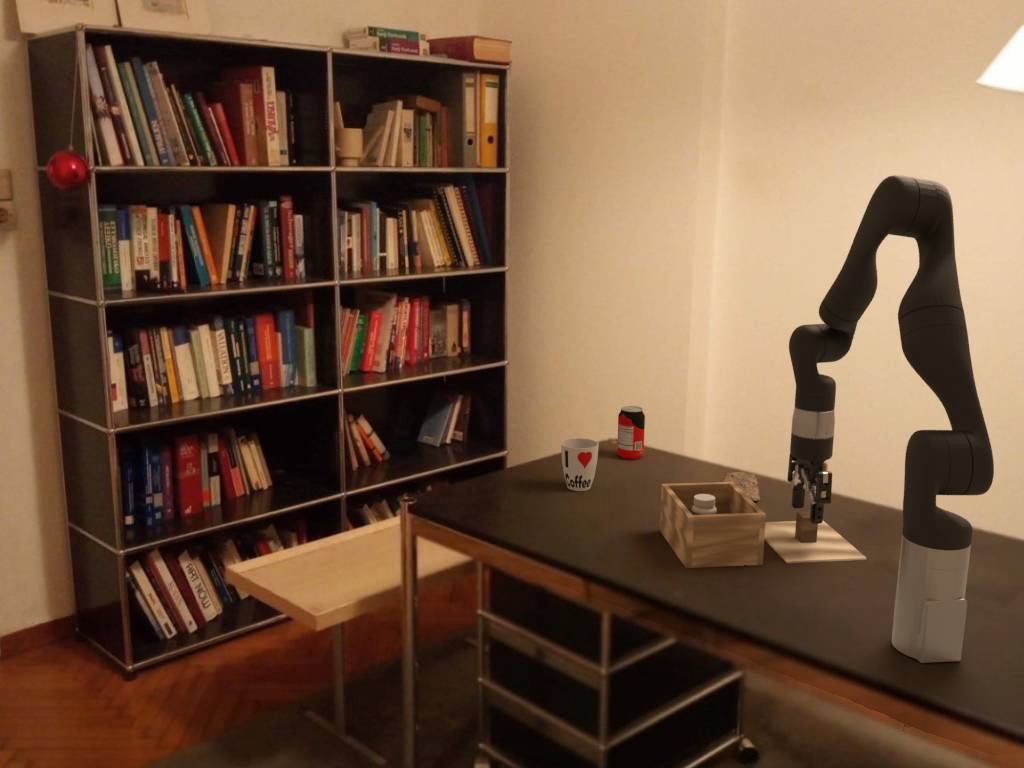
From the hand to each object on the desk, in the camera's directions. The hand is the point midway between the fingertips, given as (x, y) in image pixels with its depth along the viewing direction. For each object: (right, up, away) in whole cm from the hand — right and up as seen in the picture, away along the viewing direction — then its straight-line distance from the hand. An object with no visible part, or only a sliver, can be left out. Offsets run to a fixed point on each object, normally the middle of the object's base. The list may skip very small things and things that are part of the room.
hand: (806, 515), depth 186 cm
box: (-19, -6, -2) cm, 20 cm away
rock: (-6, 0, +27) cm, 28 cm away
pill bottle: (-19, -5, +2) cm, 20 cm away
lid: (0, -6, +1) cm, 6 cm away
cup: (-40, +2, +31) cm, 51 cm away
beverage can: (-27, +7, +53) cm, 60 cm away
